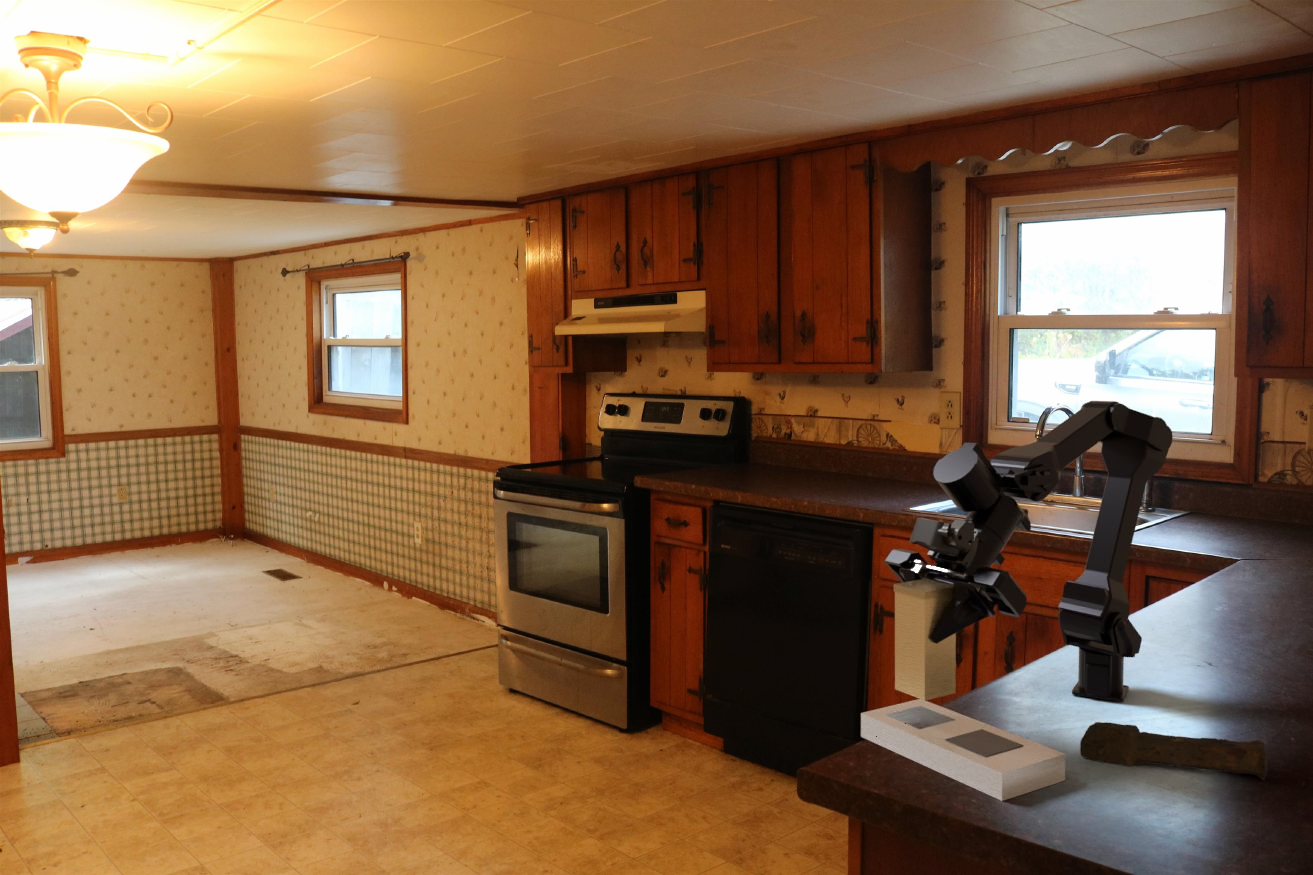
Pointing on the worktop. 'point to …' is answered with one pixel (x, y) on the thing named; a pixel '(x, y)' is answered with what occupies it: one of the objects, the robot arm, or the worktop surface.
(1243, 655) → the worktop surface
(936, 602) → the beige tall square block
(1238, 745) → the hand tool
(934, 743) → the white base plate
